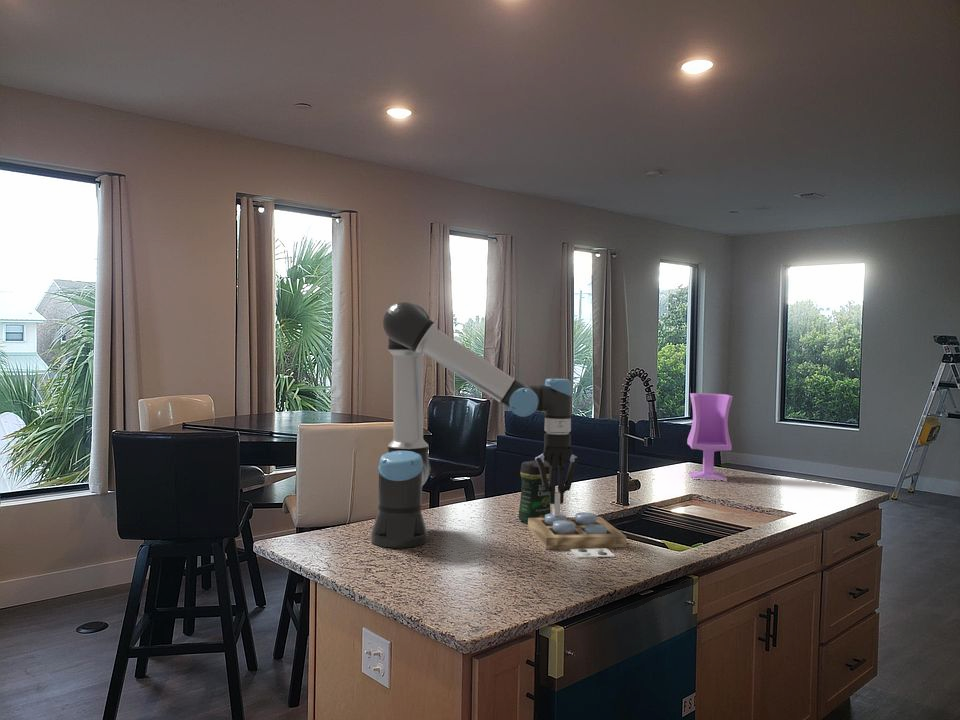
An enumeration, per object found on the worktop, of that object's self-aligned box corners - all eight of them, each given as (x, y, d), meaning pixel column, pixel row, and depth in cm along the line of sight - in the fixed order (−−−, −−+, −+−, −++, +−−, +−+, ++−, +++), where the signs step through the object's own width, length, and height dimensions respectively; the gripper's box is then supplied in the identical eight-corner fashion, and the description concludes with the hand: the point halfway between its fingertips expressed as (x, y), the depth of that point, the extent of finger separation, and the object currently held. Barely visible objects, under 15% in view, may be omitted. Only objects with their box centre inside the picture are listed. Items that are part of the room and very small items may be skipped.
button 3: (578, 526, 203) (578, 517, 203) (572, 521, 209) (572, 512, 208) (599, 525, 204) (599, 517, 203) (592, 520, 209) (592, 512, 209)
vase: (690, 480, 294) (693, 395, 294) (686, 473, 310) (688, 392, 309) (730, 482, 292) (733, 396, 291) (724, 475, 307) (726, 394, 306)
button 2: (555, 535, 192) (556, 526, 192) (550, 529, 198) (550, 520, 198) (577, 534, 193) (577, 525, 193) (571, 529, 199) (571, 520, 199)
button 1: (547, 527, 201) (547, 518, 201) (542, 522, 207) (542, 513, 207) (568, 527, 202) (568, 518, 202) (562, 521, 208) (562, 513, 208)
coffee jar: (531, 526, 213) (533, 463, 212) (514, 520, 219) (515, 460, 219) (555, 521, 218) (557, 461, 218) (538, 516, 225) (539, 457, 224)
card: (577, 558, 181) (577, 556, 181) (569, 550, 188) (569, 548, 188) (615, 557, 182) (615, 555, 182) (606, 549, 189) (606, 547, 189)
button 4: (588, 539, 194) (588, 530, 194) (581, 533, 200) (581, 524, 200) (609, 538, 195) (609, 529, 195) (602, 533, 201) (602, 524, 201)
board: (546, 549, 188) (546, 537, 188) (527, 528, 210) (528, 517, 210) (626, 547, 192) (626, 536, 192) (600, 526, 213) (600, 516, 213)
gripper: (538, 434, 199) (536, 518, 200) (583, 434, 201) (582, 517, 202) (532, 431, 207) (530, 512, 207) (575, 431, 209) (574, 511, 209)
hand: (556, 515), depth 205 cm, fingers closed
